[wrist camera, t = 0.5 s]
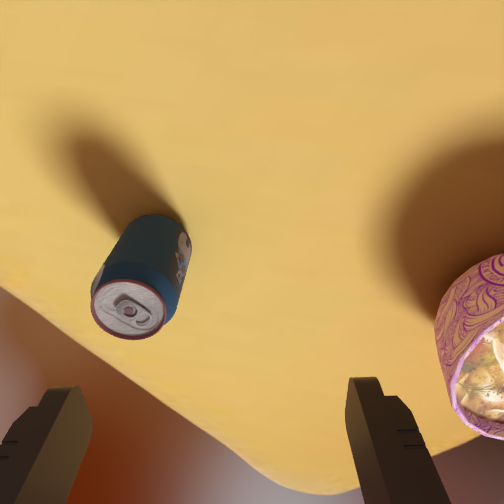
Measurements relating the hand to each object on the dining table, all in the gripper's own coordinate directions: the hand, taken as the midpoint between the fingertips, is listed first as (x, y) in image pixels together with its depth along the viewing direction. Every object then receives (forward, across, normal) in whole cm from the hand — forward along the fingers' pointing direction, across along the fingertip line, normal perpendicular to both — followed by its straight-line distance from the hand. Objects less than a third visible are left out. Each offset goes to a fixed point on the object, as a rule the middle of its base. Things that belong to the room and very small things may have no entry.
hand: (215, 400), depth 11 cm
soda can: (+28, +9, +9) cm, 30 cm away
